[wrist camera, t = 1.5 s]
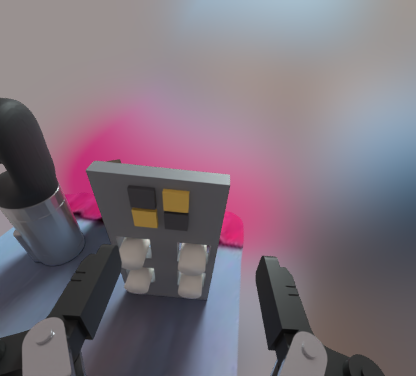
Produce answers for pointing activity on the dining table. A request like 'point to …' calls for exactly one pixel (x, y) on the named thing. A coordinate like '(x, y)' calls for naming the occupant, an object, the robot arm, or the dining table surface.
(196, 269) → the button top right
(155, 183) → the button panel
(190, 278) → the button bottom right
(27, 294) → the dining table surface
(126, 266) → the button top left
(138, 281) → the button bottom left
